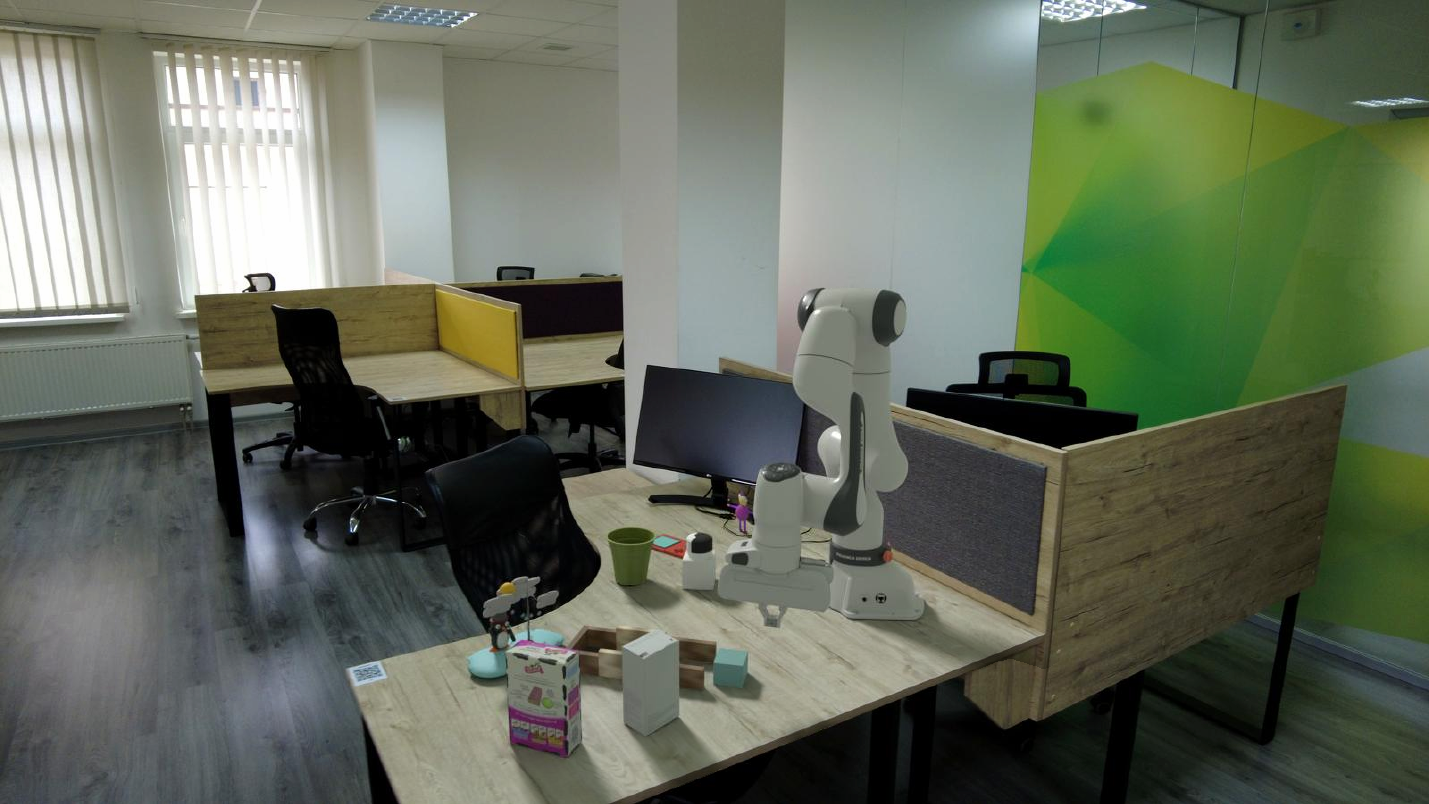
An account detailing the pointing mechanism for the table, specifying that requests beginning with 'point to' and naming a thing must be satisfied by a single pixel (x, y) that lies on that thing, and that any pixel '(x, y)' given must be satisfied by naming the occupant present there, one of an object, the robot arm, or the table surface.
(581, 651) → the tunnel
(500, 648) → the penguin figurine
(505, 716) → the table surface
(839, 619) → the table surface
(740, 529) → the wizard figurine
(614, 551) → the plant pot
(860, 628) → the table surface
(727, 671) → the teal block
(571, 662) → the candy bar box
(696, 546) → the medicine bottle
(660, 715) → the skincare box
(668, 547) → the handheld gaming console
